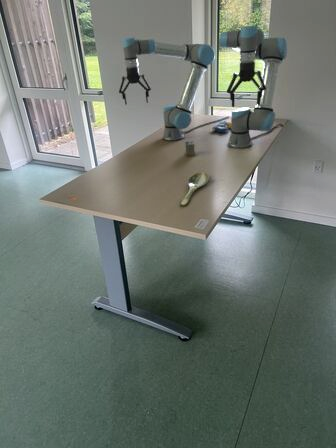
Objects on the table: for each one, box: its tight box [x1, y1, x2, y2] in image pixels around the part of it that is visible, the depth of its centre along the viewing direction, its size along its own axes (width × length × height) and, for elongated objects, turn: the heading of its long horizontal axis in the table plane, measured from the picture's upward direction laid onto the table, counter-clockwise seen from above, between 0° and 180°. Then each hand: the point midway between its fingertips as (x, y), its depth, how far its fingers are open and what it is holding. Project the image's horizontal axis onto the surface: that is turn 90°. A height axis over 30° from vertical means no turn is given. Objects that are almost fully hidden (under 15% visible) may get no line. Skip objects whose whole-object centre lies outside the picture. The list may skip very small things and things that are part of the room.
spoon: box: [180, 171, 210, 207], centre depth 170 cm, size 35×11×2 cm, turn 159°
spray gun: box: [211, 120, 231, 133], centre depth 256 cm, size 21×4×15 cm
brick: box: [184, 140, 195, 158], centre depth 214 cm, size 7×5×8 cm
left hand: (136, 103), depth 213 cm, fingers open, 13 cm apart
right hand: (245, 105), depth 179 cm, fingers open, 13 cm apart
